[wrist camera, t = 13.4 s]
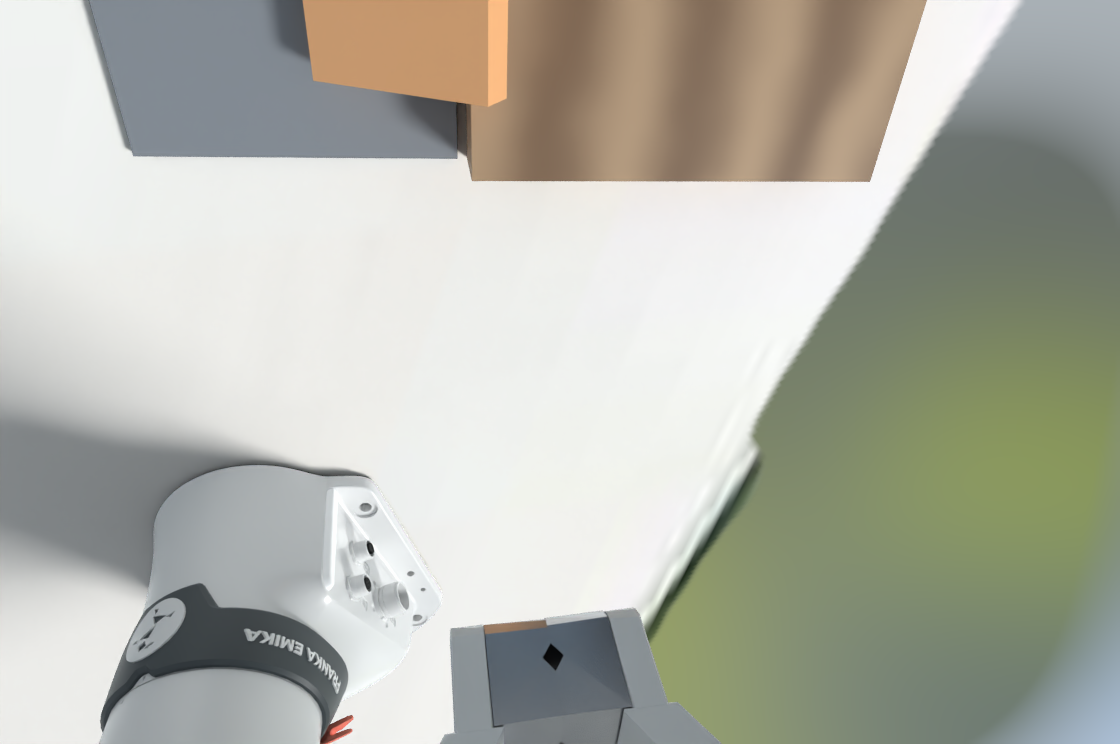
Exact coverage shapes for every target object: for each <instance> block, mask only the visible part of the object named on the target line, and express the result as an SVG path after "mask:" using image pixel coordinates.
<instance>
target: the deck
mask: <svg viewBox="0 0 1120 744" xmlns="http://www.w3.org/2000/svg"><path fill="white" fill-rule="evenodd" d="M926 1H927V0H508V43H507V99H504V100H502V101H500V102H498V103H496V104H493V105H491V106H489V107H485V106H479V105H472V104H466V128H467V160H468V164H469V169H470V174H471V178H472V181H809V182H870V180H871V177H872V173H873V170H874V167H875V164H876V161H877V157H878V154H879V151H880V148H881V145H882V141H883V138H884V135H885V132H886V129H887V126H888V122H889V119H890V116H891V113H892V110H893V106H894V103H895V100H896V97H897V94H898V91H899V87H900V84H901V81H902V78H903V75H904V71H905V68H906V65H907V62H908V59H909V56H910V52H911V49H912V46H913V43H914V40H915V36H916V33H917V30H918V27H919V24H920V21H921V17H922V14H923V11H924V8H925V5H926Z"/></svg>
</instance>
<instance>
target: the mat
mask: <svg viewBox="0 0 1120 744" xmlns="http://www.w3.org/2000/svg"><path fill="white" fill-rule="evenodd" d="M89 2H90V6H91V9H92V13H93V16H94V20H95V23H96V27H97V30H98V34H99V37H100V41H101V44H102V48H103V51H104V55H105V58H106V62H107V65H108V69H109V72H110V76H111V79H112V83H113V86H114V90H115V93H116V97H117V101H118V104H119V108H120V111H121V115H122V118H123V122H124V125H125V129H126V132H127V136H128V139H129V143H130V146H131V150H132V153H133V156H172V157H305V158H439V159H457V119H456V102H452V101H445V100H438V99H432V98H425V97H418V96H412V95H405V94H398V93H392V92H385V91H378V90H372V89H365V88H358V87H351V86H345V85H338V84H331V83H325V82H318V81H313V75H312V68H311V60H310V53H309V45H308V37H307V30H306V22H305V15H304V7H303V0H89Z"/></svg>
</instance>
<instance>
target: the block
mask: <svg viewBox="0 0 1120 744" xmlns="http://www.w3.org/2000/svg"><path fill="white" fill-rule="evenodd" d="M303 7H304V15H305V22H306V30H307V37H308V45H309V53H310V60H311V68H312V75H313V81H318V82H325V83H331V84H338V85H345V86H351V87H358V88H365V89H372V90H378V91H385V92H392V93H398V94H405V95H412V96H418V97H425V98H432V99H438V100H445V101H452V102H458V103H465V104H472V105H479V106H485V107H489V106H491V105H493V104H496V103H498V102H500V101H502V100H504V99H507V43H508V0H303Z"/></svg>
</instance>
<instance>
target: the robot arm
mask: <svg viewBox="0 0 1120 744" xmlns="http://www.w3.org/2000/svg"><path fill="white" fill-rule="evenodd" d="M363 503H368V504H367V505H365V504H363ZM442 598H443V593H442V590H441V588H440V587H439V585H438V583H437V582H436V580H435V579H434V577H433V575H432V574H431V572H430V570H429V569H428V567H427V566H426V564H425V562H424V561H423V559H422V558H421V556H420V554H419V553H418V551H417V549H416V548H415V546H414V545H413V543H412V541H411V540H410V538H409V537H408V535H407V533H406V532H405V530H404V529H403V527H402V525H401V524H400V522H399V520H398V519H397V517H396V516H395V514H394V512H393V511H392V509H391V508H390V506H389V504H388V503H387V501H386V499H385V498H384V496H383V495H382V493H381V491H380V490H379V488H378V487H377V485H376V484H375V482H373V481H372V480H371V479H369V478H366V477H362V476H328V477H326V476H319V475H315V474H310V473H307V472H303V471H299V470H295V469H290V468H285V467H279V466H268V465H246V466H236V467H229V468H224V469H220V470H216V471H212V472H209V473H206V474H204V475H201V476H199V477H196V478H194V479H192V480H190V481H189V482H187V483H185V484H184V485H182V486H181V487H179V488H178V489H177V490H175V491H174V492H173V493H172V494H171V495H170V496H169V497H168V498H167V499H166V500H165V502H164V503H163V504H162V506H161V508H160V509H159V511H158V513H157V516H156V519H155V522H154V551H153V562H152V571H151V577H150V583H149V588H148V593H147V598H146V603H145V608H144V611H143V615H142V617H141V618H140V620H139V622H138V624H137V626H136V628H135V629H134V631H133V633H132V635H131V637H130V639H129V642H128V644H127V646H126V648H125V650H124V652H123V655H122V657H121V660H120V663H119V665H118V668H117V670H116V673H115V676H114V678H113V681H112V684H111V687H110V690H109V693H108V696H107V699H106V702H105V704H104V707H103V710H102V713H101V720H100V722H101V729H102V732H103V734H102V736H101V739H100V742H99V744H329V743H331V742H333V741H335V740H337V739H340V738H342V737H344V736H345V735H347V734H349V733H351V732H352V729H347V730H344V731H341V732H338V733H336V732H337V731H339V730H341V729H343V728H344V727H345V726H346V725H347V724H348V723H350V722H351V721H352V720H353V716H352V715H350V716H347V717H345V718H343V719H341V720H339V721H336V722H334V723H332V724H330V723H331V721H332V719H333V717H334V715H335V713H336V711H337V708H338V706H339V704H340V702H341V701H343V700H345V699H347V698H349V697H351V696H353V695H355V694H357V693H359V692H360V691H362V690H364V689H366V688H368V687H370V686H371V685H373V684H375V683H377V682H378V681H380V680H381V679H383V678H384V677H386V676H387V675H388V674H390V673H391V672H392V671H393V670H394V669H395V668H396V667H397V666H398V665H399V664H400V663H401V662H402V661H403V659H404V658H405V656H406V654H407V652H408V650H409V647H410V643H411V637H412V633H413V632H415V631H416V630H417V629H419V628H420V627H422V626H423V625H424V624H425V623H426V622H428V621H429V620H430V619H431V618H432V617H433V616H434V614H435V613H436V612H437V611H438V609H439V608H440V606H441V604H442ZM450 649H451V669H452V690H453V710H454V731H455V733H451V734H446V735H444V737H443V739H442V741H441V743H440V744H721V743H720V742H719V741H718V740H717V739H716V738H715V737H714V736H713V735H712V734H711V733H710V732H708V730H707V729H705V728H704V727H703V726H702V725H701V724H700V723H699V722H698V721H697V720H696V719H695V718H694V717H693V716H692V715H691V714H689V713H688V712H687V711H686V710H685V709H684V708H683V707H682V706H681V705H680V704H679V703H678V702H673V703H668V701H667V697H666V694H665V691H664V688H663V685H662V682H661V679H660V676H659V673H658V670H657V667H656V663H655V660H654V657H653V654H652V651H651V648H650V645H649V642H648V639H647V636H646V633H645V630H644V626H643V623H642V620H641V617H640V614H639V613H638V612H637V610H636V609H635V608H626V609H619V610H611V611H595V612H587V613H580V614H572V615H565V616H557V617H549V618H544V619H540V620H530V621H520V622H510V623H500V624H490V625H483V626H482V625H477V626H468V627H460V628H451V630H450ZM335 733H336V734H335Z"/></svg>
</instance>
